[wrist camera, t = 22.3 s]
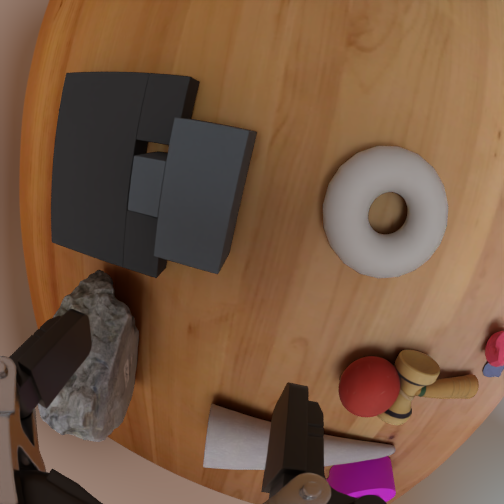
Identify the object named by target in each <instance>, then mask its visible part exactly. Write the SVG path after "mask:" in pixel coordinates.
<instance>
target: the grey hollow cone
mask: <svg viewBox="0 0 504 504" xmlns="http://www.w3.org/2000/svg"><path fill="white" fill-rule="evenodd" d="M270 428H271V422H269V421H265V420H262V419H258V418H255V417H251V416H248V415H245V414H242V413H239V412H236V411H233V410H229V409H226V408H223V407H220V406H217V405H214V404H211V408H210V414H209V421H208V429H207V437H206V445H205V453H204V463H203V467H207V468H219V469H238V470H242V469H248V470H265V464H266V457H267V450H268V443H269V435H270ZM323 438H324V466H331V465H339V464H347V463H354V462H360V461H365V460H371V459H377V458H382V457H386V456H389V455H391V454H393V453H394V452H395V447H394V446H393V445H388V444H382V443H375V442H368V441H361V440H354V439H348V438H342V437H336V436H330V435H325V434H324V436H323Z"/></svg>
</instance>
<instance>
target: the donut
mask: <svg viewBox="0 0 504 504" xmlns="http://www.w3.org/2000/svg"><path fill="white" fill-rule="evenodd" d="M386 192H395V193H397V194H399V195H401V196H402V197H403V198H404V200H405V201H406V204H407V208H408V210H407V218H406V221H405V223H404V224H403V226H402V227H401V228H400V229H399V230H397V231H396V232H394V233H391V234H379V233H377V232H375V231H374V230H373V229H372V227H371V226H370V224H369V221H368V212H369V209H370V205H371V204H372V203H373V201H374V200H375V199H376V198H377V197H378V196H379V195H381V194H383V193H386ZM447 218H448V202H447V197H446V193H445V188H444V185H443V183H442V181H441V180H440V178H439V176H438V174H437V173H436V171H435V169H434V168H433V167H432V166H431V165H430V164H429V163H428V162H426V161H425V160H424V159H423V158H422V157H421V156H419V155H418V154H417V153H414V152H412V151H409V150H407V149H404V148H401V147H399V146H375V147H372V148H370V149H367V150H364V151H361V152H358V153H356V154H355V155H354V156H353V157H351V158H350V159H349V160H348V161H346V162H345V163H344V164H342V165H341V166H340V167H339V169H338V171H337V172H336V174H335V175H334V177H333V178H332V180H331V181H330V183H329V185H328V188H327V192H326V195H325V199H324V203H323V227H324V230H325V233H326V235H327V238H328V241H329V244H330V246H331V247H332V249H333V250H334V251H335V253H336V254H337V255H338V256H339V258H340V259H341V260H342V261H343V263H344V264H346V265H347V266H349V267H351V268H352V269H354V270H355V271H357V272H358V273H360V274H363V275H367V276H371V277H375V278H389V277H399V276H401V275H404V274H407V273H409V272H412V271H414V270H416V269H417V268H418V267H420V266H421V265H422V264H424V263H425V262H426V261H427V260H429V259H430V257H431V256H432V255H433V253H434V252H435V250H436V249H437V248H438V246H439V245H440V243H441V241H442V238H443V235H444V233H445V230H446V227H447Z"/></svg>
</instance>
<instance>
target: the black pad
mask: <svg viewBox="0 0 504 504" xmlns="http://www.w3.org/2000/svg"><path fill="white" fill-rule="evenodd" d="M198 86H199V81H197V80H195V79H193V78H192V77H188V76H179V75H168V74H155V73H138V72H77V73H66V77H65V82H64V87H63V92H62V97H61V103H60V109H59V115H58V122H57V129H56V138H55V147H54V158H53V171H52V193H51V231H52V242H53V243H56V244H58V245H61V246H64V247H66V248H69V249H72V250H75V251H77V252H80V253H83V254H86V255H89V256H91V257H94V258H97V259H100V260H103V261H106V262H109V263H112V264H115V265H118V266H121V267H124V268H127V269H130V270H133V271H136V272H139V273H142V274H145V275H148V276H151V277H155V278H157V277H158V276H159V275H160V274H161V272H162V271H163V270H164V269H165V268H166V264H167V260H166V259H162V258H159V257H156V256H154V249H155V240H156V231H157V222H158V217H154V216H150V215H146V214H142V213H138V212H134V211H130V210H128V201H129V192H130V183H131V175H132V167H133V160H134V156H135V155H140V154H146V150H147V144H148V142H154V143H160V144H166V145H169V144H170V138H171V133H172V128H173V123H174V118H175V117H178V118H186V119H191V116H192V111H193V107H194V103H195V98H196V94H197V90H198Z"/></svg>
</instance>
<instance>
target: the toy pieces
mask: <svg viewBox="0 0 504 504" xmlns="http://www.w3.org/2000/svg"><path fill="white" fill-rule="evenodd" d="M485 356H486V359H487V361H488V363H487V364H486V365H485V367H484V370H483V374H484V376H487V377H494V376H496V377H499V376H500V375H501V372H502V371H503V369H504V331H499V332H496V333H494V334H492V336H491V337H490V338H489V340H488V341H487V344H486V347H485Z"/></svg>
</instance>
